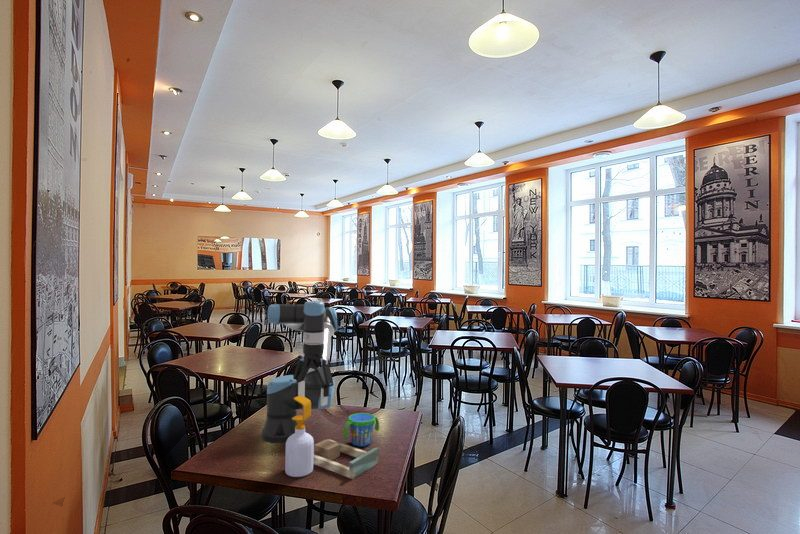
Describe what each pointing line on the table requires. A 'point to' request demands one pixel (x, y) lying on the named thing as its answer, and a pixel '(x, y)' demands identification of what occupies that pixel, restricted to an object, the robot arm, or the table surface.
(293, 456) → the soap bottle
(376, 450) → the lane
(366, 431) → the snack cup
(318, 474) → the table surface
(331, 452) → the block
